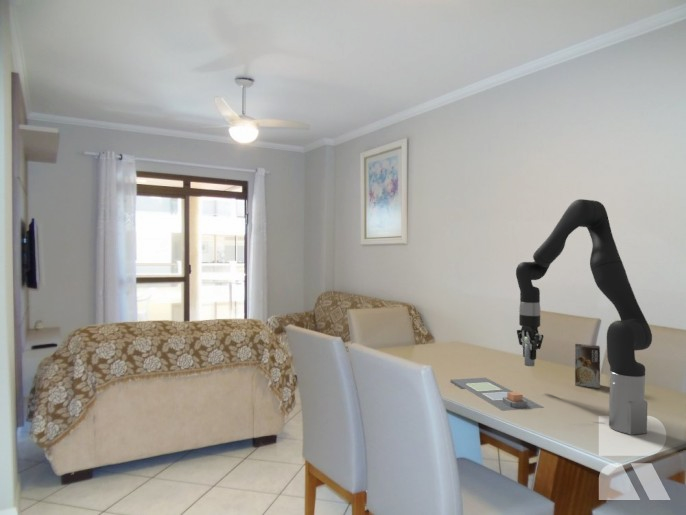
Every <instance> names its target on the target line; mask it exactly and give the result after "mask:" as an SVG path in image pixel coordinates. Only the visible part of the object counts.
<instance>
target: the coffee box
mask: <svg viewBox="0 0 686 515" xmlns="http://www.w3.org/2000/svg"><path fill="white" fill-rule="evenodd" d="M574 354H575V355H574V386H577V385H578V387H585V386H586V387H589V388H596V389H601V346H600V345H593V344H584V343H575V345H574Z"/></svg>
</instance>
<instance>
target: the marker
mask: <svg viewBox="0 0 686 515" xmlns="http://www.w3.org/2000/svg"><path fill="white" fill-rule="evenodd" d="M531 341H532V342H533V341H535V340H531ZM524 343H525V357H524V363H523V364H524V366H526V367H535V360H536V359H535V360H531V359H530V345H529V343H528V338H527V337H526V336H524ZM532 345H534V343H533V344H532Z"/></svg>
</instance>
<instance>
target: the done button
mask: <svg viewBox="0 0 686 515" xmlns="http://www.w3.org/2000/svg"><path fill="white" fill-rule="evenodd" d="M523 397H524V395H523V394H522V393H520V392H518V391H513V392H507V399H508V400H510V401H512V402H520V401H523Z"/></svg>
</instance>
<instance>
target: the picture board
mask: <svg viewBox="0 0 686 515" xmlns="http://www.w3.org/2000/svg"><path fill="white" fill-rule="evenodd" d="M450 383H452V384H453V385H454V384H455V385H454V386H456V387H458V388H459V389H461V390H467V391H468V392H470V393H471V394H473V395H475V396H477V397H479V398H480V399H482V400H483V401H485V402H487V403H489V404H490V405H492V406H493V407H494V408H495V407H496V408H497V409H499V410H500V411H502V412H504V411H515V410H516V411H517V410H528V409H529V410H530V409H531V410H532V409H542V408H545V407H544V406H542V405H540V404H538V403H537V402H535V401H533V400H531V399H529V398H527V397H524V396H523V401H520V402H512V401H510V400H508V399H507V392H514V391H513V390H511V389H509V388H507V387H505V386H504V385H501V384H499V383H497V382H495V381H494V380H491V379H489V378H487V377H475V378H473V377H472V378H457V379H450Z"/></svg>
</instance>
